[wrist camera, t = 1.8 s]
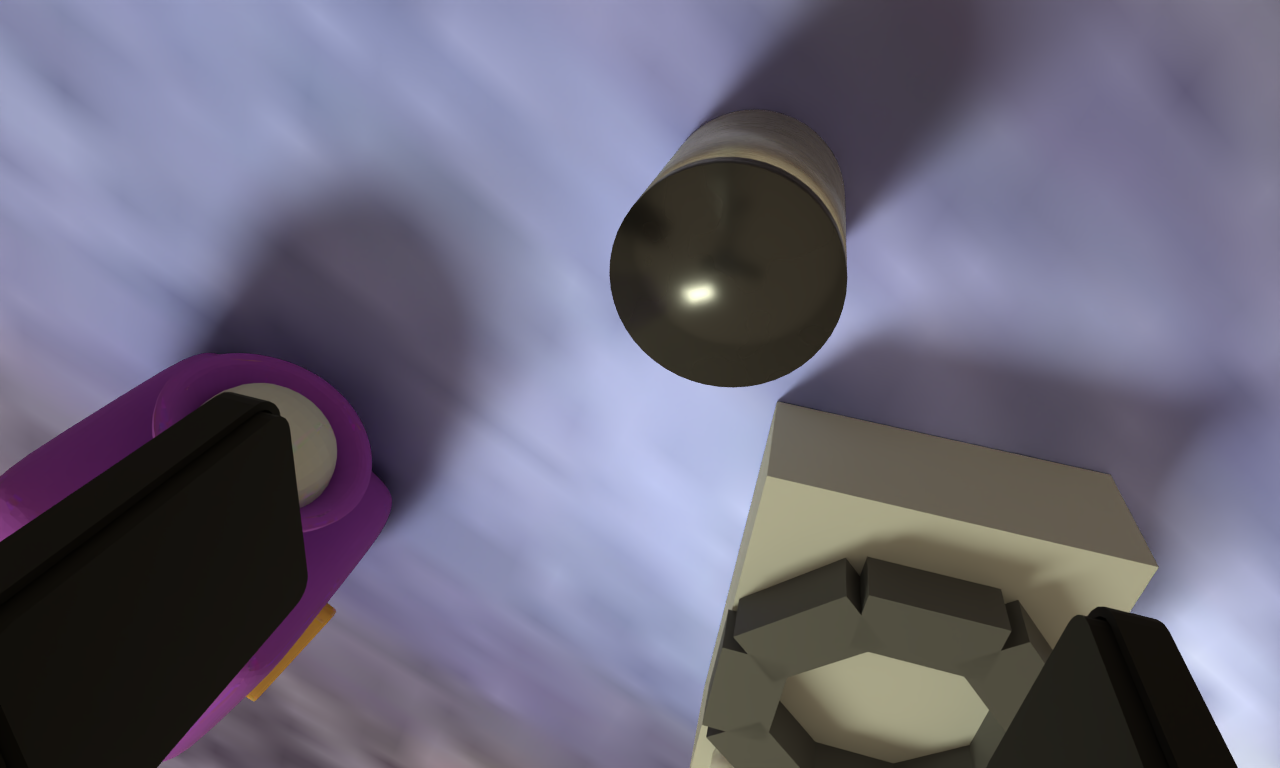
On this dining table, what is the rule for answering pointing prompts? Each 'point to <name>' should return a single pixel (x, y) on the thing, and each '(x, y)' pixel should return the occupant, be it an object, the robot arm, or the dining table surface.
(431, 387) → the dining table surface
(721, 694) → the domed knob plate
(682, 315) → the lens
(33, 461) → the toy camera
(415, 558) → the dining table surface
